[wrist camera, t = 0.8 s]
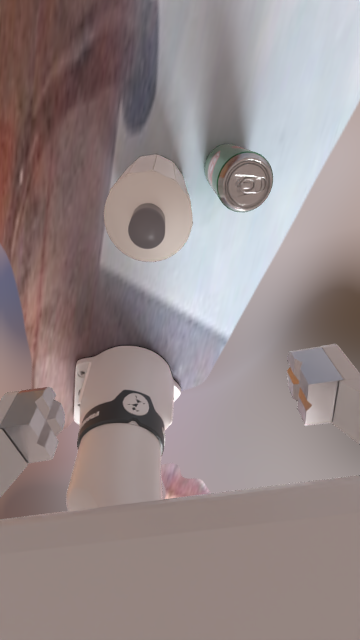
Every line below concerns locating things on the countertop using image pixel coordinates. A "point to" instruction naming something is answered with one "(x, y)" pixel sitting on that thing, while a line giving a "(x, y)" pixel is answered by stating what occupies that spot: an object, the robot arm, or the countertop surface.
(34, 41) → the countertop surface
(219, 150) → the soda can
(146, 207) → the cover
